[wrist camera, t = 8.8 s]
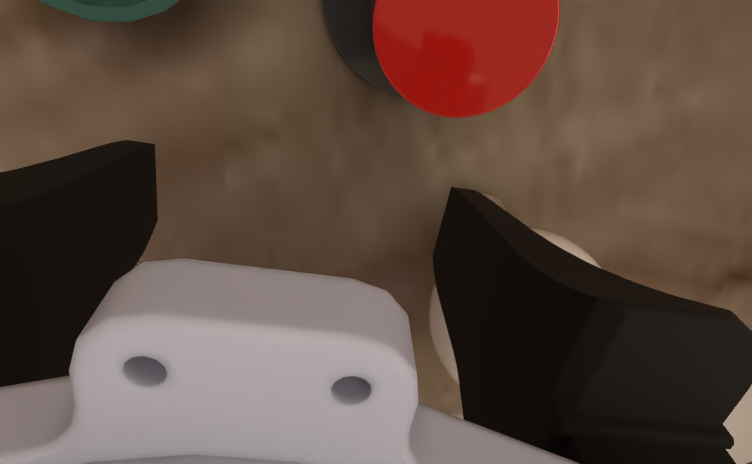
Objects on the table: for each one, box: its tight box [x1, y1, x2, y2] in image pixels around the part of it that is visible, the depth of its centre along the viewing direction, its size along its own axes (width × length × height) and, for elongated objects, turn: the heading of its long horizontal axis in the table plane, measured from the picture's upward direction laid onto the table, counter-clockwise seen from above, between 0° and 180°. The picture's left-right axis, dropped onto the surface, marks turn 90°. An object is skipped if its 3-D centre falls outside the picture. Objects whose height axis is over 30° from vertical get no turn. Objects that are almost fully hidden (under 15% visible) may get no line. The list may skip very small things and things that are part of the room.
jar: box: [370, 0, 560, 118], centre depth 16 cm, size 5×5×8 cm
